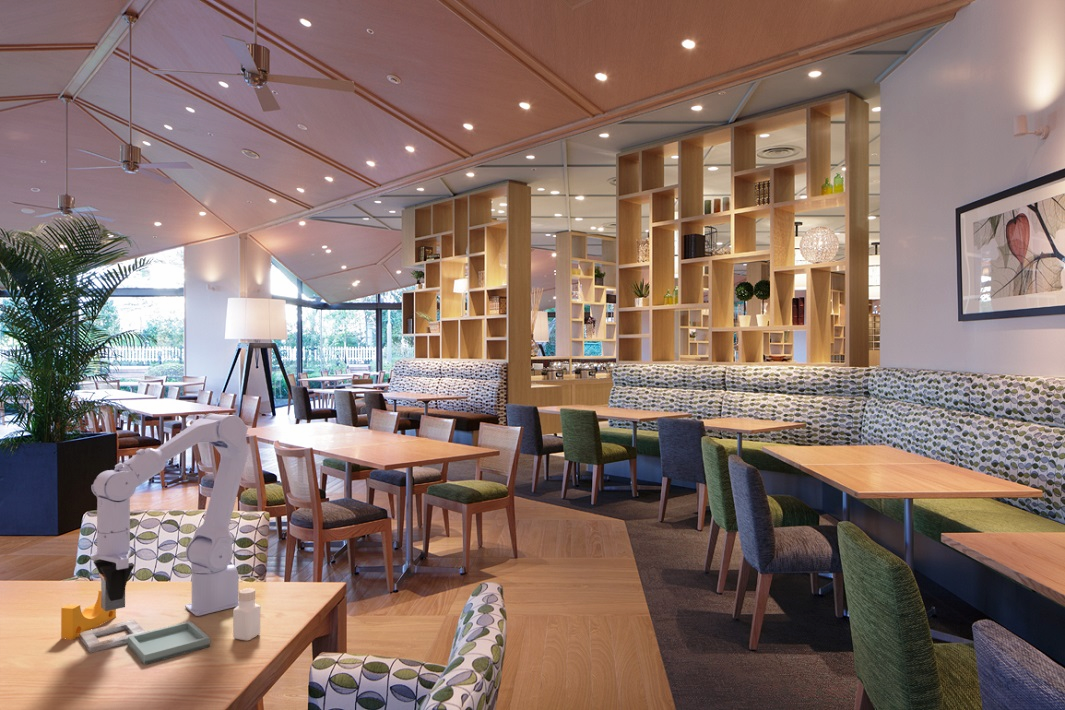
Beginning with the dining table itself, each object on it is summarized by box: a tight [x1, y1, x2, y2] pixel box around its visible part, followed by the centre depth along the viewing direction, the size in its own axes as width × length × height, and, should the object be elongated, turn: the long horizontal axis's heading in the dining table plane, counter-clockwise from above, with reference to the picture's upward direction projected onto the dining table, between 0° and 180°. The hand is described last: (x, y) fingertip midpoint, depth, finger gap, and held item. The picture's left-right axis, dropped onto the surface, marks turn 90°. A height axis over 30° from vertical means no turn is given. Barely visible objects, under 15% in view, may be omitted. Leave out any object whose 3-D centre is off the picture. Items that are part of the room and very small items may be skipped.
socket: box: [78, 619, 147, 654], centre depth 140 cm, size 10×10×1 cm
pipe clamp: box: [60, 589, 117, 640], centre depth 146 cm, size 12×4×6 cm, turn 173°
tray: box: [127, 620, 211, 665], centre depth 136 cm, size 12×12×2 cm
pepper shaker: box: [232, 587, 261, 641], centre depth 141 cm, size 4×4×10 cm
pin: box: [98, 572, 126, 611], centre depth 140 cm, size 4×4×7 cm
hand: (113, 596), depth 140 cm, fingers closed on pin, 4 cm apart
